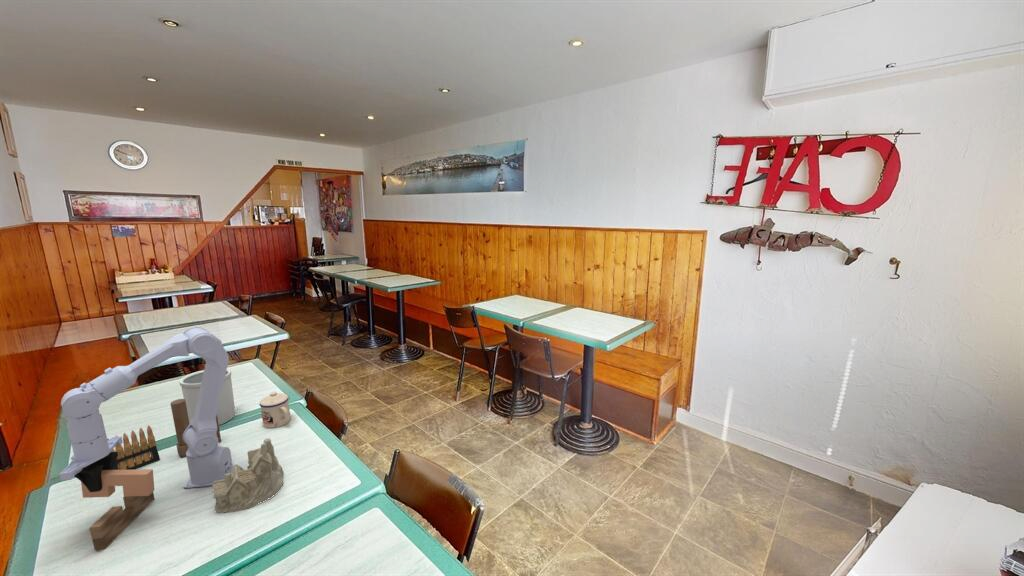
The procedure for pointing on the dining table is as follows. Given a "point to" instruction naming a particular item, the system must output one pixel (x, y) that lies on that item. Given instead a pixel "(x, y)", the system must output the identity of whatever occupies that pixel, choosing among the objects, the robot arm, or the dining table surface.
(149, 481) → the cross plate
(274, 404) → the teacup with lid
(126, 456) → the ammunition clip
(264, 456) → the ceramic cottage
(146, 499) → the slotted base plate
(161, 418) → the dining table surface
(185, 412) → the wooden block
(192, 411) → the utensil holder
